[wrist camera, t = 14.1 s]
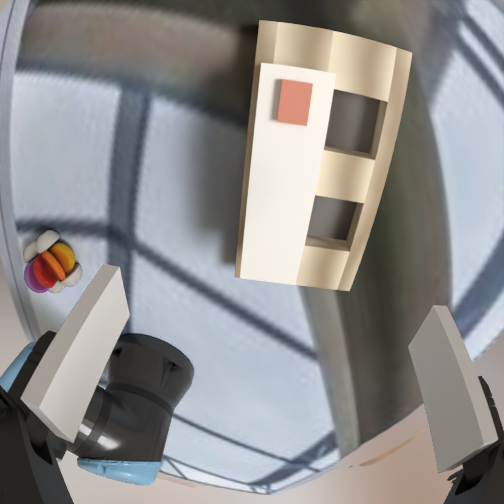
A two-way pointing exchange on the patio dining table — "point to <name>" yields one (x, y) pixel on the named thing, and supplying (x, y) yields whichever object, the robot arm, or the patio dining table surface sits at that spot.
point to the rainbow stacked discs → (50, 265)
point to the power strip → (284, 169)
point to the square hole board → (338, 141)
